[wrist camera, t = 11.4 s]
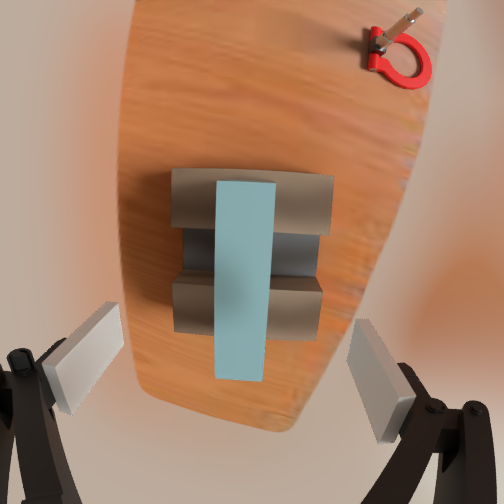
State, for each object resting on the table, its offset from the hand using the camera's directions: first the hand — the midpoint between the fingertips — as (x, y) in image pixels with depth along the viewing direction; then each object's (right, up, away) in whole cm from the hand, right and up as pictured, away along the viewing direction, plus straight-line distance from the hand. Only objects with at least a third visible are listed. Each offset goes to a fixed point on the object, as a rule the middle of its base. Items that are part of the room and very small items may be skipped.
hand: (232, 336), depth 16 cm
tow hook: (+20, +29, +15) cm, 38 cm away
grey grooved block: (+1, +5, +21) cm, 22 cm away
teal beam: (+1, +4, +15) cm, 16 cm away
